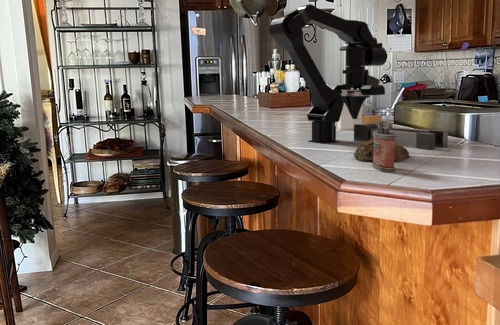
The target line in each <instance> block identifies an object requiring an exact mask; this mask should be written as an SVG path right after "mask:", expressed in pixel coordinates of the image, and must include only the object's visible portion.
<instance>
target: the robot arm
mask: <svg viewBox="0 0 500 325" xmlns="http://www.w3.org/2000/svg"><path fill="white" fill-rule="evenodd" d="M308 24H311V25H314V26H315V27H319V28H321V29H324V30H326V31H330V32H331V33H334V34H335V35H337V37H338V38H339V39H340V40H341V41H343V42H344V43H343V45H342V46H341V47H339V51H341V52H342V51H343V52H345V69H342V74H344V75H345V77H344V79H345V82H344V83H342V84H335V85H334V84H333V85H328V84H327V81H325V79H324V77H323V76H322V74H321V71H320V70H319V69H318V67H317V64H316V63H315V61H314V59H313V58H312V55H311V54H310V52H309V50H308V49H307V47H306V45H305V43H304V31H303V28H305V27H306V26H307V25H308ZM268 32H269V34H270V37H271V38H272V39H273V40H274V41H275V42H276V44H277V45H278V46H280V47H281V48H283V49H284V50H285V51H286V52H287V53H288V54H289V57H290V58H291V60H292V62H293V63H294V65H295V67H296V68H297V70H298V73H299V74H300V75H301V77H302V79H303V80H304V82H305V84H306V86H307V88H308V89H309V90H310V94H311V103H312V107H311V108H310V110H308V112H307V113H306V118H307V120H308V121H309V122H311V139H309V140H308V141H307V142H309V143H312V144H313V143H315V144H322V145H324V144H332V143H339V142H340V141H339V140H338V139H336V138H337V135H336V134H337V126H336V123H338V122H339V120H340V116H341V112H342V110H343V106H344V103H345V104H346V106H347V108H348V110H349V112H350V115H351V117H352V119H357V117H358V114H359V111H360V109H361V106H362V104H363V103H364V102H365V101H366V100H367V98H368V99H369V98H370V97H371V96H382V95H383V96H385V95H386V88H385V86H384V85H383V84H380V83H381V80H380V79H378V78H377V77H375V76H372V75H370V72H369V69H366V67H382V66H384V65H385V64H386V62H387V60H388V53H387V50H386V48H385V47H384V46H383V42H377V41H376V40H375V38H374V36H373V34H372V32H371V31H370V28H369V24H368V23H367V22H366V21H361V20H355V19H347V18H342V17H340V16H337V15H335V14H334V13H330V12H329V11H325V10H323V9H321V8H319V7H316V6H315V5H314V4H311V3H310V4H305V5H301V6H299V7H298V8H297V9H295V10H293V11H292V12H290V13H289V12H288V14H285V15H284V16H281V17H276V18H273V19H272V20H271V22H270V23H269V29H268ZM341 95H342V96H341ZM342 99H343V100H342ZM343 101H344V103H343ZM362 107H363V106H362Z"/></svg>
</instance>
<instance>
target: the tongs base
mask: <svg viewBox="0 0 500 325" xmlns="http://www.w3.org/2000/svg"><path fill="white" fill-rule="evenodd" d="M373 131H378V126H377V123H373V124H364V123H362V124H355V125H354V130H353V141H354V142H360V143H363V142H365V141H369V140H374V136H373ZM389 132H391V133H394V134H396V139H395V144H396V145H402V146H403V147H404V148H411V149H417V150H426V151H433V150H435V149H436V147H435V134H434V133H424V132H421V133H415V132H405V131H395V130H389Z"/></svg>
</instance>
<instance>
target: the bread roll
mask: <svg viewBox="0 0 500 325" xmlns="http://www.w3.org/2000/svg"><path fill="white" fill-rule="evenodd" d="M373 151H374V140H369V141H365V142H361V143H360V144H359V146H357V148H356V150H355V152H353V156H354V159H355V160H356V161H358V162H364V161H365V162H366V161H371V162H373ZM409 158H410V153H409V151H408V149H407V147H403V146H402V145H396V144H395V150H394V163H399V162H403V161H405V160H407V159H409Z"/></svg>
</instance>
